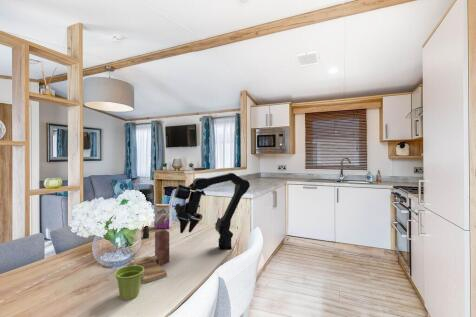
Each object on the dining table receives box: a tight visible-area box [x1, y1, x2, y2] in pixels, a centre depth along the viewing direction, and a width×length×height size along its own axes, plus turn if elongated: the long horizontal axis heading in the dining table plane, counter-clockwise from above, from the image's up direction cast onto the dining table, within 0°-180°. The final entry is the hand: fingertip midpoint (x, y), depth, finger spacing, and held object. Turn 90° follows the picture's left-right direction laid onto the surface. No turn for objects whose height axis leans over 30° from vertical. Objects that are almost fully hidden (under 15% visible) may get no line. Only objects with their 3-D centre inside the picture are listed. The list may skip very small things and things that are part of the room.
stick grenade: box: [138, 187, 154, 239], centre depth 146 cm, size 8×9×30 cm
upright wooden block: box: [136, 229, 170, 266], centre depth 108 cm, size 14×5×15 cm, turn 128°
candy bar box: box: [153, 203, 173, 229], centre depth 168 cm, size 11×5×16 cm, turn 84°
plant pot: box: [114, 265, 144, 301], centre depth 84 cm, size 9×9×9 cm
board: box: [129, 255, 168, 284], centre depth 103 cm, size 22×9×2 cm, turn 38°
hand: (185, 232), depth 119 cm, fingers open, 9 cm apart
